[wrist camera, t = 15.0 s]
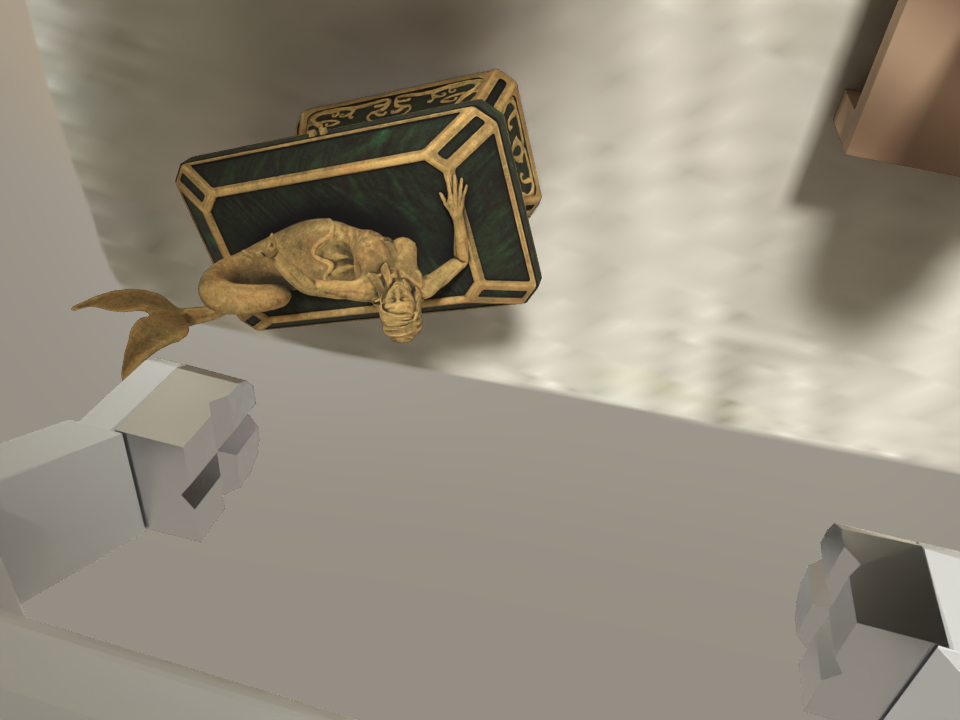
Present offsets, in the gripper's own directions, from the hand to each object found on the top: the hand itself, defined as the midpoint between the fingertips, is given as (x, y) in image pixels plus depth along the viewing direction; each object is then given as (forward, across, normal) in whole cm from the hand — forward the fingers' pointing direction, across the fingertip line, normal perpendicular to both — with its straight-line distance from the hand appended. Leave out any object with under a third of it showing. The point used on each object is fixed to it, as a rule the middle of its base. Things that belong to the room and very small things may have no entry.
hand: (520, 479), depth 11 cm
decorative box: (+34, +14, +10) cm, 38 cm away
